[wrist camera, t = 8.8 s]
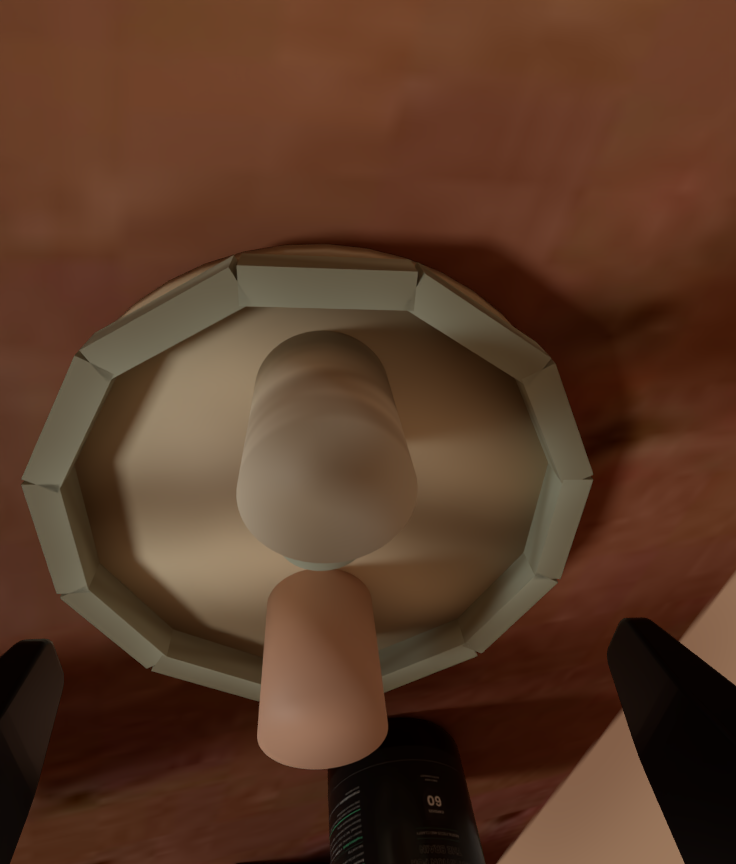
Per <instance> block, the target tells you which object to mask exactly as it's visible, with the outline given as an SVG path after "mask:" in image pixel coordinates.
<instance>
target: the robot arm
mask: <svg viewBox="0 0 736 864" xmlns="http://www.w3.org/2000/svg"><path fill="white" fill-rule="evenodd" d="M607 660H608V665H609V668H610V671H611V674H612V677H613V680H614V683H615V686H616V689H617V692H618V696H619V699H620V702H621V705H622V708H623V711H624V714H625V717H626V720H627V723H628V726H629V729H630V732H631V736H632V739H633V741H634V744H635V747H636V750H637V753H638V756H639V758H640V761H641V763H642V765H643V768H644V771H645V773H646V775H647V778H648V780H649V782H650V785H651V787H652V789H653V791H654V794H655V796H656V798H657V801H658V803H659V805H660V807H661V810H662V812H663V815H664V817H665V819H666V821H667V824H668V826H669V828H670V830H671V833H672V835H673V838H674V840H675V842H676V845H677V847H678V849H679V851H680V854H681V856H682V858H683V861H684V863H685V864H736V686H735V685H734V684H733V683H731V682H730V681H729V680H727V679H726V678H725V677H724V676H722V675H721V674H720V673H718V672H717V671H716V670H715V669H713V668H712V667H711V666H709V665H708V664H707V663H706V662H704V661H703V660H702V659H701V658H699V657H698V656H697V655H695V654H694V653H693V652H691V651H690V650H689V649H688V648H686V647H685V646H684V645H682V644H681V643H680V642H679V641H677V640H676V639H675V638H673V637H672V636H671V635H670V634H668V633H667V632H666V631H664V630H663V629H662V628H661V627H659V626H658V625H657V624H655V623H654V622H653V621H651V620H649V619H647V618H642V617H640V618H624V619H622V620H621V621H620V622H619V624H618V626H617V629H616V631H615V633H614V636H613V638H612V640H611V642H610V645H609V647H608V651H607ZM63 684H64V674H63V670H62V667H61V664H60V661H59V659H58V656H57V653H56V650H55V647H54V645H53V643H52V642H51V641H50V640H49V639H28V640H22V641H19V642H18V643H16V644H15V645H13V646H12V647H11V648H10V649H9V650H8V651H7V652H6V653H4V654H3V655H2V656H1V657H0V864H10V862H11V859H12V856H13V854H14V851H15V848H16V846H17V843H18V840H19V838H20V835H21V832H22V829H23V827H24V824H25V821H26V819H27V816H28V813H29V810H30V807H31V804H32V802H33V799H34V796H35V792H36V789H37V785H38V782H39V778H40V774H41V770H42V767H43V763H44V759H45V755H46V751H47V747H48V744H49V740H50V736H51V732H52V728H53V725H54V721H55V717H56V713H57V709H58V705H59V702H60V698H61V694H62V690H63Z"/></svg>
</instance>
